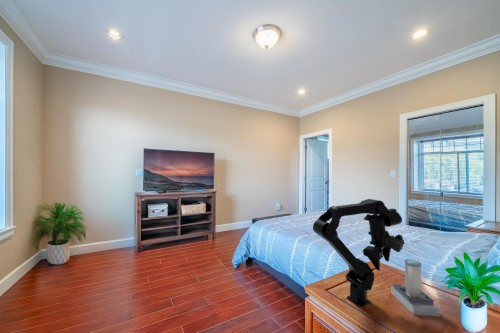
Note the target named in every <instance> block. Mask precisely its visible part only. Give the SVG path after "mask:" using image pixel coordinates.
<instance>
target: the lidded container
mask: <svg viewBox="0 0 500 333" xmlns="http://www.w3.org/2000/svg"><path fill="white" fill-rule="evenodd" d="M404 263H405V264H404V266H405V267H404V268H405V281H404V282H405V283H404V287H405V294H407V295H408V296H409V297H410V298H421V291H422V262H421V261H418V260H415V259H410V258H409V259H408V258H406V259H404Z"/></svg>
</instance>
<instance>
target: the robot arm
mask: <svg viewBox="0 0 500 333" xmlns="http://www.w3.org/2000/svg"><path fill="white" fill-rule="evenodd" d="M361 214H362V215H363V214H366V215H365V216H364V218H363V220H364V221H367V222H368V225H369V231H368V235H370V239H371V240H370V241H369V244H370V245H367V246H366V247H365V248H364V249H362V256H364V257H367V258H368V260H369V261H370V262H371V264H372V266H374V268H375V269H376V270H377V271H381V260H382V259H384V260H385V262H390V257H391V250H393V251H395V252H397V253H399V252H401V251H402V250H403V247H404V244H405V240H404V238H403V235H401V234H399V233H398V234H397V235H390V233H389V231H388V230H387V229H386V227H387V228H389V227H393V226H398V225H401V223H402V222H403V218H402V216H401V214H400V213H399V212H398V211H397V209H396V208H388V207H387V206H386V205H385V203H384V201H382V200H378V199H374V198H373V199H372V198H367V199H364V200H362V201H360V202H358V203H351V204H350V203H349V204H343V205H332V206H329V207H328V209H327V210H326V211H325V212H324V213H322V214H321V215H320V216H319V217H318V218H317V219H316V221H314V223H313V225H312V230H313V232H314V233H315V234H316V235H318V237H320V238H322V239H323V240H325V241H326V242H328V244H329V245H330V246H331V247H332V248H333V250H335V252H336V253H337V254H338V255H339V256H340V257H341V259H342V260H343V262H345V264H346V265H347V266H348V270H349V271H348V272H347V274H346V275H345V279H346V281H347V282H349V283H350V284H349V295H347V296H346V299H347V300H349V301H350V302H353V303H354V304H355V305H357V306H359V307H364V306H365V305H368V304H371V300H370V299H368V291H371V290H372V288H373V286H374V282H375V273H374V269H373V268H371V266H370V264H368V263H367V262H366V261H364V260H362V259H361V258H358V257H356V256H355V255H354V253H352V252H351V250H350V249H349V247H347V246H346V245H345V244H344V242H343V241H342V240H341V239H340V238H339V235H338V233H339V232H338V231H337V229H338V228H339V226H340V222H341V218H342V217H348V216H355V215H361ZM328 221H330V222H328ZM372 245H373V246H372Z"/></svg>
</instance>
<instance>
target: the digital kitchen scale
mask: <svg viewBox="0 0 500 333" xmlns="http://www.w3.org/2000/svg"><path fill="white" fill-rule="evenodd" d="M390 289H391V294H392V295H393V296H394V297H395V298H396V299H397V300H398V301H399V302H400V303H401V304H402V305H403V306H404V307H405V308H406V309H407V310H409V312H410V313H411V314H412V315H415V316H429V317H430V316H431V317H441V316H440V315H441V308H440V307H439V306H438V305H437V304H436V303H435V302H434V299H433V298H431V297H430V296H429V295H428V294H426V293H425V292H424V291H422V290H421V298H410V297H409V296H408V295H407V294H405V286H403V285H402V284H398V283H393V285H391V288H390Z"/></svg>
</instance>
